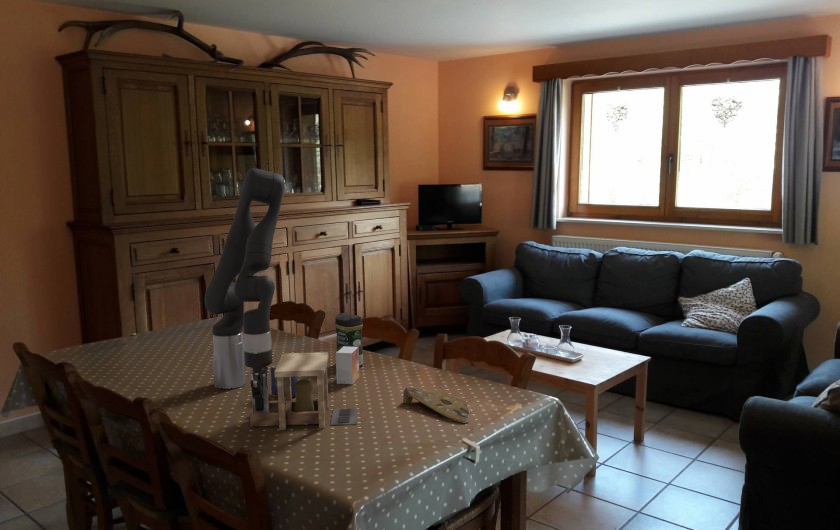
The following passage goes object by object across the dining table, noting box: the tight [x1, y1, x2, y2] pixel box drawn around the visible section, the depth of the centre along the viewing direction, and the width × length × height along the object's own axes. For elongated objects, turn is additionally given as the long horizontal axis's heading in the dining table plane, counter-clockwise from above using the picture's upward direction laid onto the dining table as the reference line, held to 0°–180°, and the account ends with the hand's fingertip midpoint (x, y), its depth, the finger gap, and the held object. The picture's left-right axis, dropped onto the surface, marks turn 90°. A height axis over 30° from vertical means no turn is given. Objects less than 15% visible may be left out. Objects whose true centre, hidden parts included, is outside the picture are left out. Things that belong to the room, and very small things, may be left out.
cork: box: [294, 378, 315, 412], centre depth 186 cm, size 6×6×11 cm
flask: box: [270, 363, 300, 398], centre depth 205 cm, size 9×3×11 cm, turn 74°
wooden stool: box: [274, 351, 358, 431], centre depth 186 cm, size 21×17×16 cm
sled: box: [249, 384, 327, 427], centre depth 186 cm, size 20×11×9 cm, turn 94°
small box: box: [335, 346, 360, 385], centre depth 219 cm, size 8×6×10 cm
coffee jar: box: [334, 312, 364, 368], centre depth 235 cm, size 10×8×19 cm
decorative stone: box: [402, 386, 469, 423], centre depth 194 cm, size 25×15×5 cm, turn 39°
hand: (260, 407), depth 186 cm, fingers closed on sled, 3 cm apart
